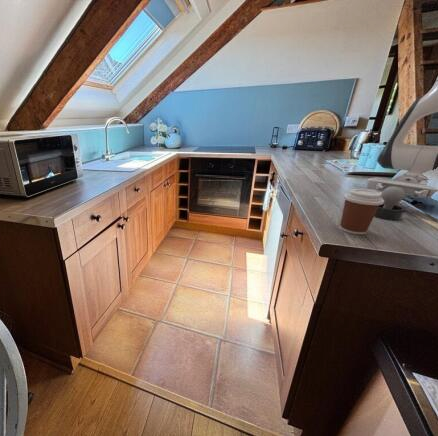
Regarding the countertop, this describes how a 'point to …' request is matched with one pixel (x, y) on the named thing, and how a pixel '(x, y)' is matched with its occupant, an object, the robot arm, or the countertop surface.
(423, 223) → the countertop surface
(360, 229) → the coffee cup
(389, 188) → the light bulb
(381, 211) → the dark round bowl
